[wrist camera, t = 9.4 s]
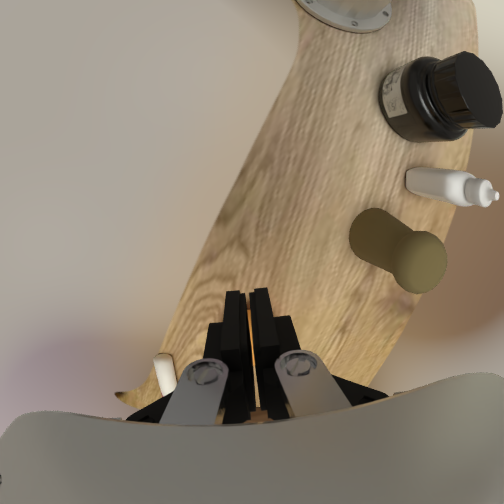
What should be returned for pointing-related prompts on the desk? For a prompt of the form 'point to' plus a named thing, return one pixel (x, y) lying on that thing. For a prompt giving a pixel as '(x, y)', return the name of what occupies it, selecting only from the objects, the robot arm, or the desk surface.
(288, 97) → the desk surface
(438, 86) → the ink bottle
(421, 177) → the eye dropper bottle
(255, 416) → the rail
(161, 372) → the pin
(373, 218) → the olive pawn
